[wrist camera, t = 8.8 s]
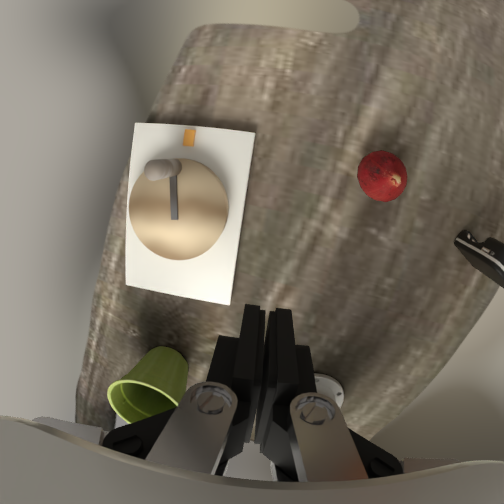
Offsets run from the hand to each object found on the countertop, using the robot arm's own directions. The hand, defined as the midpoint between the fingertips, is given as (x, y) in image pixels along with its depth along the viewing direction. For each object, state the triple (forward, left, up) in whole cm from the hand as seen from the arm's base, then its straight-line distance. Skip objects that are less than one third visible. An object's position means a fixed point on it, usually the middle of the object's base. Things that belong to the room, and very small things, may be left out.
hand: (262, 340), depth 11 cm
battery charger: (+1, -31, -27) cm, 41 cm away
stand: (-2, +11, -27) cm, 29 cm away
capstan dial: (-1, +11, -25) cm, 27 cm away
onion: (+7, -12, -27) cm, 31 cm away
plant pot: (-27, +12, -27) cm, 40 cm away
